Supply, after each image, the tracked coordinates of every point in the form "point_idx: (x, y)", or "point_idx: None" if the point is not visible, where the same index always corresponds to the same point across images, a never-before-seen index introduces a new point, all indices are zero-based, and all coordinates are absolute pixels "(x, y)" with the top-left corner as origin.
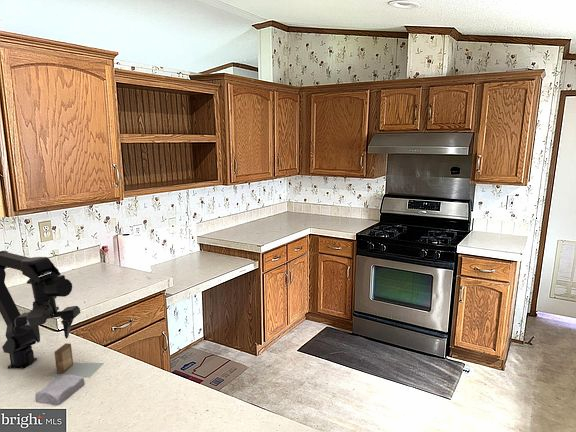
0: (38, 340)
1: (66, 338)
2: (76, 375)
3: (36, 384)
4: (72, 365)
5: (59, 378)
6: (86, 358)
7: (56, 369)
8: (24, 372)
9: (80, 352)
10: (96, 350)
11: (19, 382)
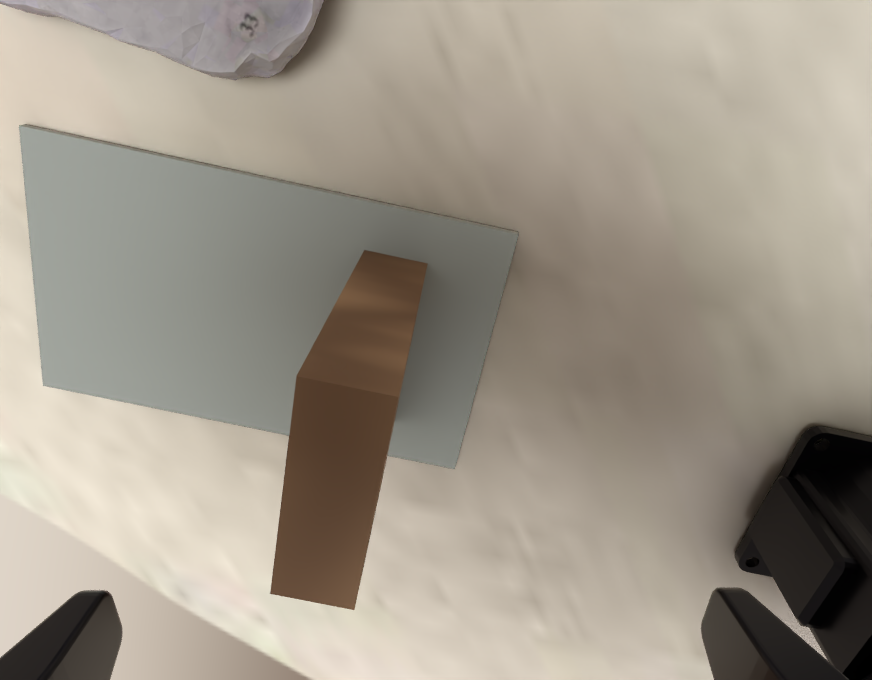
0: (731, 630)
1: (94, 590)
2: (196, 193)
3: (583, 89)
4: None
5: (259, 11)
6: (276, 500)
7: (472, 352)
8: (792, 365)
9: (380, 597)
10: (253, 602)
11: (795, 170)
